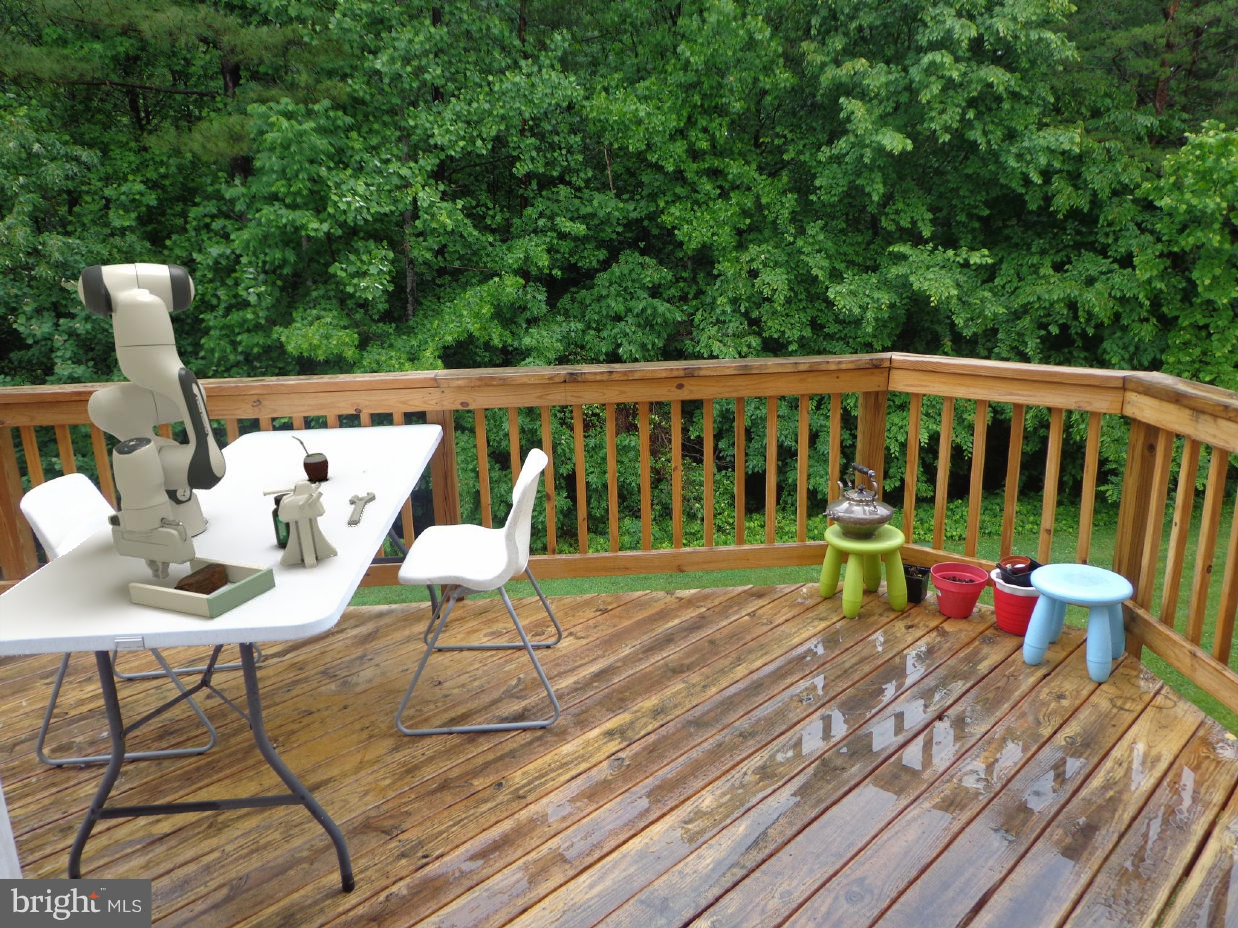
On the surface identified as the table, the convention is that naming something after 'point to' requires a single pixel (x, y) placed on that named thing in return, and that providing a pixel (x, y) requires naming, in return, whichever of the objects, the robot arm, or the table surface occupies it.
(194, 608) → the bay
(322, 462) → the mate gourd
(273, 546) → the table surface
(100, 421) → the robot arm
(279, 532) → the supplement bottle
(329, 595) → the table surface
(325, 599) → the table surface
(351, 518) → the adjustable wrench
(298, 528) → the toy gun turret
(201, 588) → the brick
